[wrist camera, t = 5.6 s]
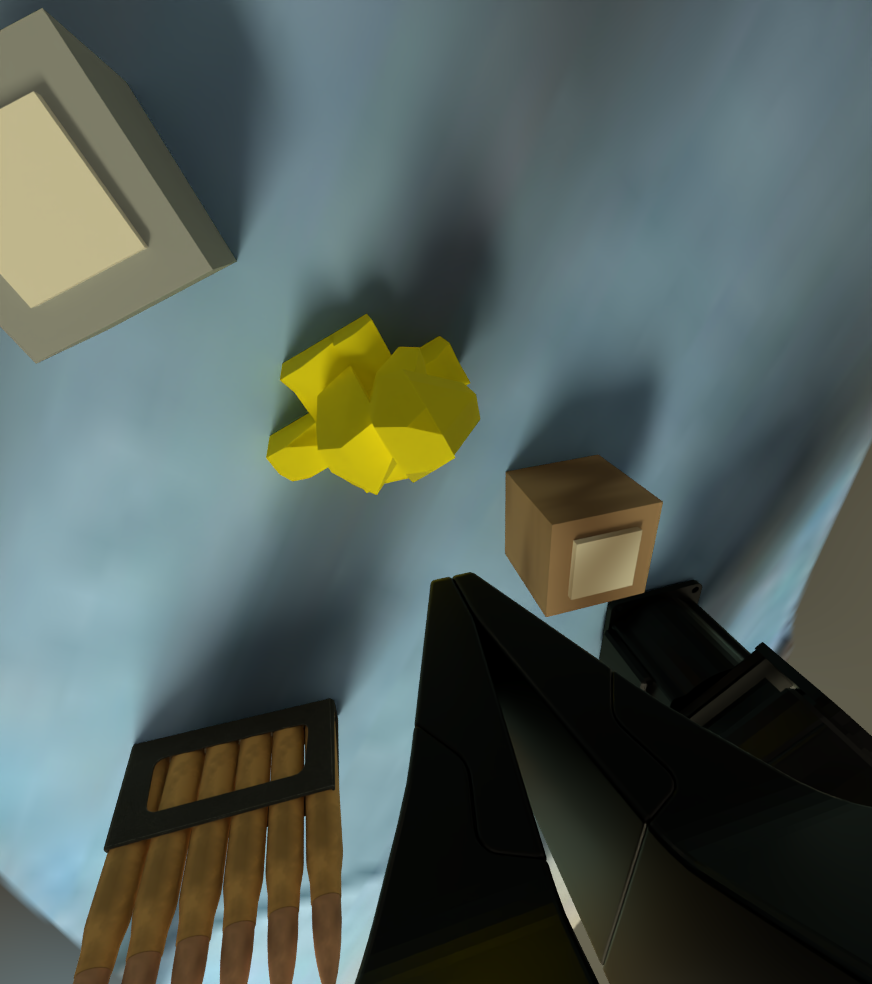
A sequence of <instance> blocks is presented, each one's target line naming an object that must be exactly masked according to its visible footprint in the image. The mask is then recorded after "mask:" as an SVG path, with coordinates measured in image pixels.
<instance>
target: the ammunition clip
mask: <svg viewBox="0 0 872 984" xmlns="http://www.w3.org/2000/svg"><path fill="white" fill-rule="evenodd" d="M304 744H305V766H304ZM271 755H272V762H271ZM270 770H271V780H270ZM304 816H306V863H307V871H308V876H309V881H310V894H311V905H312V929H313V940H314V949H315V956H316V962H317V967H318V971H319V976H320V979H321V983H322V984H335V983H336V979H337V974H338V967H339V959H340V948H341V926H342V916H341V869H342V859H343V844H342V827H341V811H340V794H339V749H338V716H337V711H336V707H335V702H334V700H332V699H330V698H329V699H325V700H321V701H317V702H312V703H308V704H304V705H300V706H295V707H291V708H287V709H283V710H278V711H274V712H270V713H266V714H261V715H257V716H253V717H249V718H244V719H240V720H236V721H232V722H227V723H223V724H219V725H215V726H210V727H206V728H202V729H198V730H193V731H189V732H185V733H181V734H176V735H172V736H168V737H164V738H159V739H155V740H151V741H147V742H142V743H138V744H134V746H133V747H132V750H131V754H130V758H129V761H128V765H127V768H126V772H125V775H124V779H123V782H122V786H121V789H120V793H119V796H118V800H117V803H116V807H115V810H114V814H113V818H112V821H111V825H110V828H109V832H108V835H107V839H106V842H105V846H104V851H105V852H106V853H107V856H106V860H105V863H104V866H103V869H102V872H101V876H100V879H99V882H98V885H97V888H96V892H95V895H94V898H93V901H92V904H91V908H90V911H89V914H88V917H87V920H86V924H85V928H84V933H83V940H82V947H81V953H80V957H79V961H78V965H77V968H76V972H75V975H74V982H73V984H108V983H109V979H110V975H111V973H112V971H113V968H114V965H115V961H116V958H117V955H118V951H119V948H120V945H121V942H122V940H123V938H124V935H125V933H126V931H127V928H128V926H129V923H130V920H131V917H132V927H131V938H130V943H129V948H128V953H127V958H126V966H125V970H124V975H123V979H122V983H121V984H156V979H157V975H158V970H159V965H160V961H161V957H162V955H163V951H164V946H165V942H166V938H167V934H168V930H169V927H170V924H171V921H172V919H173V916H174V913H175V910H176V907H177V902H178V897H179V892H180V887H181V882H182V887H181V892H180V899H179V925H178V932H177V939H176V951H175V957H174V963H173V969H172V977H171V984H202V982H203V977H204V972H205V967H206V961H207V955H208V948H209V941H210V940H211V934H212V928H213V922H214V916H215V913H216V909H217V906H218V903H219V899H220V895H221V890H222V883H223V875H224V883H223V895H224V917H223V930H222V931H223V938H222V948H221V960H220V984H247V982H248V977H249V972H250V965H251V959H252V952H253V942H254V929H255V925H256V917H257V907H258V901H259V896H260V892H261V888H262V883H263V874H264V859H265V844H266V830H267V827H268V836H267V854H266V884H267V892H268V941H267V942H268V967H269V978H270V984H292V980H293V974H294V968H295V961H296V952H297V940H298V912H299V903H300V887H301V881H302V875H303V866H304ZM228 838H229V840H228ZM227 844H228V849H227ZM187 851H188V854H187ZM226 852H227V857H226ZM186 856H187V859H186ZM225 860H226V866H225ZM185 861H186V865H185ZM184 866H185V870H184ZM224 868H225V874H224ZM183 872H184V876H183ZM182 877H183V881H182ZM133 909H134V910H133ZM132 913H133V915H132Z"/></svg>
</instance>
